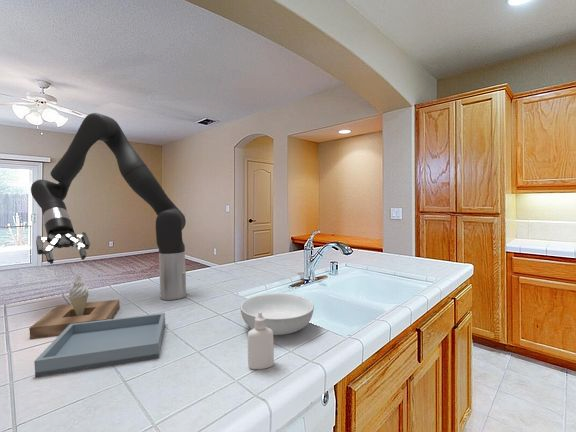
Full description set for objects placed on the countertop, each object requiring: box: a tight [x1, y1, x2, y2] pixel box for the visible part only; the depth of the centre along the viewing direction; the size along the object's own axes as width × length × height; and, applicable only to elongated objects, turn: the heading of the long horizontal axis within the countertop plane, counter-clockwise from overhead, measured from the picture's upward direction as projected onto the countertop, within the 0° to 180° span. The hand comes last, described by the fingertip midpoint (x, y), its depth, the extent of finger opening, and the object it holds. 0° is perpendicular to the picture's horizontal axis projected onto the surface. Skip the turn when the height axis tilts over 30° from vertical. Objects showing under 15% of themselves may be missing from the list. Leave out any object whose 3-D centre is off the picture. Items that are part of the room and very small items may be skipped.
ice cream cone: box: [68, 273, 90, 316], centre depth 93 cm, size 5×5×15 cm
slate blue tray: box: [33, 312, 166, 378], centre depth 77 cm, size 24×20×4 cm
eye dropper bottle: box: [247, 312, 275, 370], centre depth 67 cm, size 4×6×12 cm
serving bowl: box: [240, 293, 315, 336], centre depth 87 cm, size 21×21×7 cm
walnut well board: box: [29, 299, 121, 340], centre depth 93 cm, size 18×18×3 cm
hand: (68, 260), depth 99 cm, fingers open, 8 cm apart
